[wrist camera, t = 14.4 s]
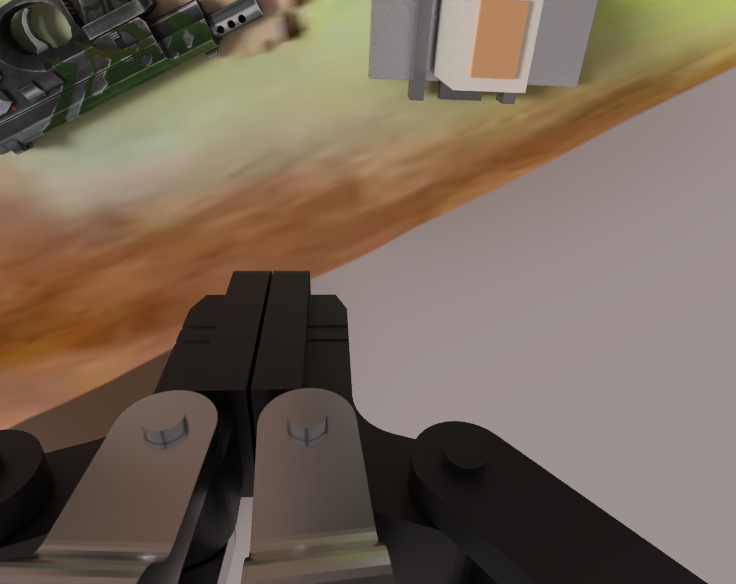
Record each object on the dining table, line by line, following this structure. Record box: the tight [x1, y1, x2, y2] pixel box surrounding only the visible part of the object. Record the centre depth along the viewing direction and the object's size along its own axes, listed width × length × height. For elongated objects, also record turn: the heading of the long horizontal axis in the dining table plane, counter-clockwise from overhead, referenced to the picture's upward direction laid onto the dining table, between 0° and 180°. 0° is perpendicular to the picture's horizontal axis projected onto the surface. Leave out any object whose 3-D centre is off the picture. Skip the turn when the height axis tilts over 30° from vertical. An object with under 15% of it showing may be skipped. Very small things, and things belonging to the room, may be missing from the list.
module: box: [433, 0, 544, 93], centre depth 28 cm, size 5×4×6 cm
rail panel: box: [368, 0, 598, 104], centre depth 30 cm, size 11×14×2 cm
